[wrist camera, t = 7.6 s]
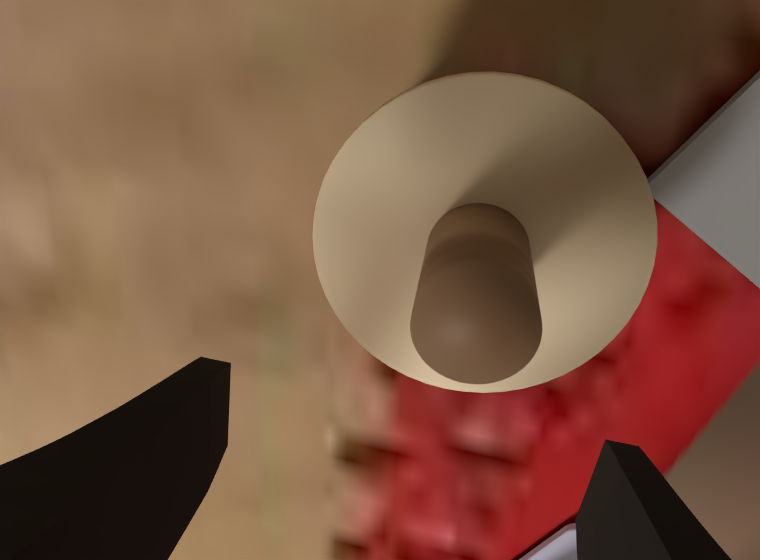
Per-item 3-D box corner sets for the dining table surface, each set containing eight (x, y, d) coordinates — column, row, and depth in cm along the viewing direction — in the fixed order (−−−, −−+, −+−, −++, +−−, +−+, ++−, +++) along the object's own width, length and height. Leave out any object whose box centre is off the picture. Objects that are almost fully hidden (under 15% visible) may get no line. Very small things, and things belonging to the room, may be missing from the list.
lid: (725, 229, 16) (813, 324, 12) (486, 426, 20) (486, 552, 15) (467, -11, 15) (458, -3, 10) (260, 249, 18) (190, 334, 14)
